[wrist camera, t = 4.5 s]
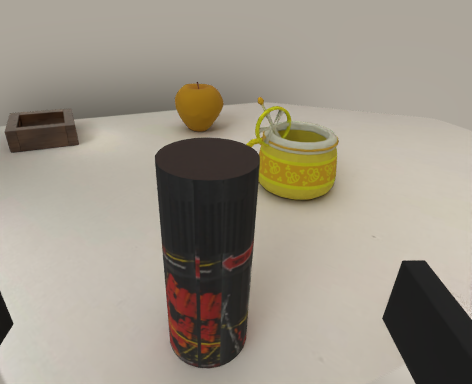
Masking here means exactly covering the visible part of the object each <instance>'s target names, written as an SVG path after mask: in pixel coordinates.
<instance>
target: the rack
mask: <svg viewBox="0 0 472 384" xmlns="http://www.w3.org/2000/svg"><path fill="white" fill-rule="evenodd" d="M5 135H6V138H7V141H8V145H9V148H10V151H11V152H20V151H28V150H37V149H45V148H54V147H62V146H69V145H78V144H79V142H78V137H77V132H76V127H75V122H74V118H73V113H72V109H59V110H45V111H35V112H34V111H33V112H21V113H10V115H9V119H8V122H7V126H6V129H5Z"/></svg>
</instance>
